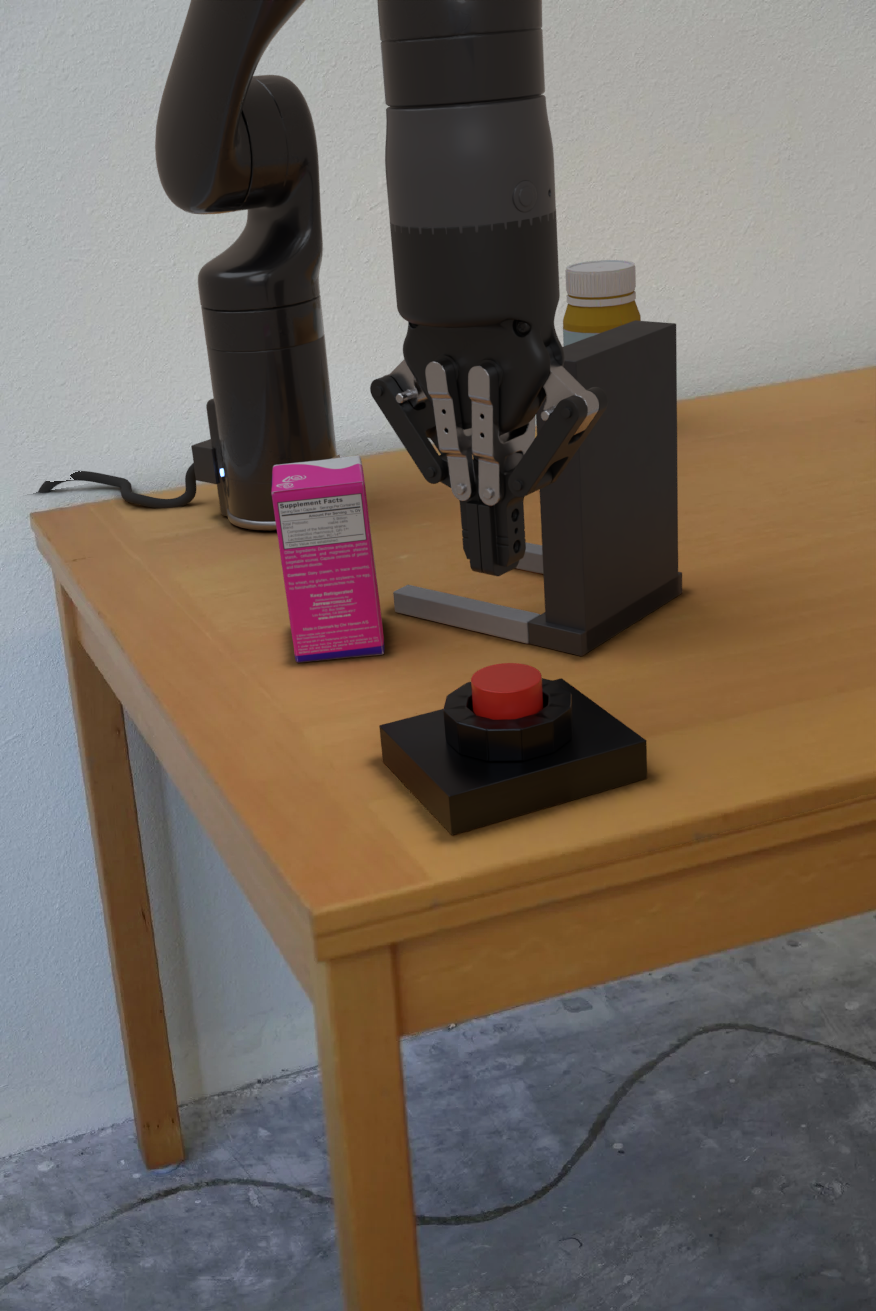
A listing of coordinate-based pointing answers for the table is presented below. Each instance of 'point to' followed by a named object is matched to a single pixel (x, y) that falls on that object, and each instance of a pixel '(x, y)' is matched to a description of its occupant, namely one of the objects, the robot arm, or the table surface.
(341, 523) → the supplement box
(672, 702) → the table surface
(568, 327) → the bottle
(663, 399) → the upright panel stand
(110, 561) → the table surface
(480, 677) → the red button
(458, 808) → the control block
